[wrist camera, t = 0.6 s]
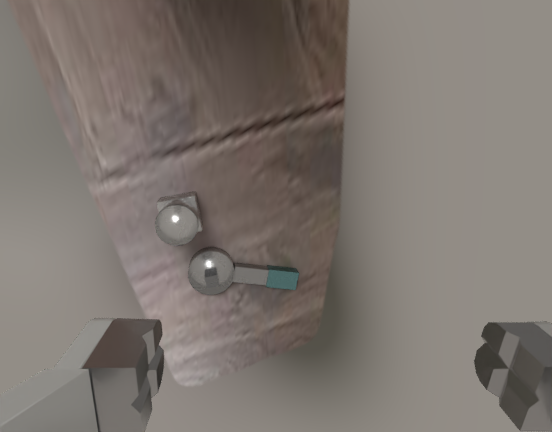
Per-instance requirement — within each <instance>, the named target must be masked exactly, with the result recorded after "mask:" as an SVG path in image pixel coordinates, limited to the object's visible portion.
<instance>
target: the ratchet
mask: <svg viewBox="0 0 552 432" xmlns="http://www.w3.org/2000/svg"><path fill="white" fill-rule="evenodd" d="M298 276H299V272H298V271H297V269H296V268H288V267H279V266H270V265H267V266H260V265H251V264H242V263H234V265H233V261H232V259H231V257H230V255H229V254H228V253H227V252H226V251H224V250H222V249H220V248H217V247H207V248H204V249H201V250H200V251H198V252H197V253H196V254H195V255H194V256H193V257H192V259H191V261H190V264H189V271H188V278H189V281H190V283H191V285H192V287H193V288H194V289H195V290H197V291H198V292H200V293H202V294H206V295H215V294H219V293H221V292H223V291H225V290H226V289H227V288H228V287H229V286H230V285H231V283H232V282H237V283H247V284H257V285H266V287H271V288H281V289H291V290H296V285H297V280H298Z"/></svg>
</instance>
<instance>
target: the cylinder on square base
mask: <svg viewBox="0 0 552 432" xmlns="http://www.w3.org/2000/svg"><path fill="white" fill-rule="evenodd" d="M157 207H158V211H159V214H158V216H157V218H156V221H155V229H156V233H157V235H158V236H159V238H160V239H161V240H162V241H164V242H165V243H167V244H170V245H174V246H180V245H184V244H186V243H188V242H190V241H191V240H192V239H193V238H194V237H195V235H196V233H197V232H199V231H202V226H203V224H202V219H201V214H200V210H199V205H198V201H197V196H196V192H189V193H184V194H178V195H173V196H167V197H162V198H160V199H159V200H158V201H157Z"/></svg>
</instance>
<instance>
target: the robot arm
mask: <svg viewBox="0 0 552 432" xmlns="http://www.w3.org/2000/svg"><path fill="white" fill-rule="evenodd" d="M162 335H163V334H162V324H161V322H160V320H157V319H123V318H117V319H114V318H94V319H92V320H90V321H89V322H88V323H87V324H86V326H85V327H84V328H83V330H82V331H81V333H80V334H79V335H78V336H77V338H76V339H75V340H74V341H73V343H72V344H71V345H70V347H69V348H68V349H67V351H66V352H65V353H64V355H63V356H62V357H61V359H60V360H59V361H58V362H57V364H56V365H55V366H54V368H53V369H44V370H43V371H41V372H39V373H37V374H35V375H34V376H32V377H30V378H29V379H27V380H25V381H23V382H21V383H20V384H18V385H16V386H14V387H13V388H11V389H9V390H7V391H5V392H4V393H2V394H0V432H145V430H146V426H147V424H148V420H149V418H150V415H151V412H152V402H151V398H152V397H153V396H155V395H156V394H157V393H158V391H159V387H160V384H161V380H162V374H163V368H164V350H163V349H162V348H161V347H160V346H159V342H160V340H161V337H162ZM482 338H483V340H484V342H485V343H484V344H483V345H482V346H481V347H480V348H479V349H478V350H477V352H476V356H475V360H474V362H475V369H476V374H477V376H478V378H479V380H480V382H481V383H482V384H483V386H484V387H485V388H486V390H488V391H489V392H491V393H492V394H494V395H496V396H497V397H499V405H500V407H501V408H502V409H503V411H504V412H505V413H506V414H507V415H508V417H509V418H510V419H511V421H512V422H513V423H514V424H515V425H516V427H517V428H518V429H519V430H520V431H538V432H541V431H542V432H545V431H546V432H552V323H550V322H546V321H543V322H524V323H523V322H520V323H518V322H516V323H515V322H512V323H509V322H508V323H507V322H503V323H502V322H501V323H497V322H493V323H492V322H491V323H488V324H487V325H486V326H485V327H484V329H483V332H482Z"/></svg>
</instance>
